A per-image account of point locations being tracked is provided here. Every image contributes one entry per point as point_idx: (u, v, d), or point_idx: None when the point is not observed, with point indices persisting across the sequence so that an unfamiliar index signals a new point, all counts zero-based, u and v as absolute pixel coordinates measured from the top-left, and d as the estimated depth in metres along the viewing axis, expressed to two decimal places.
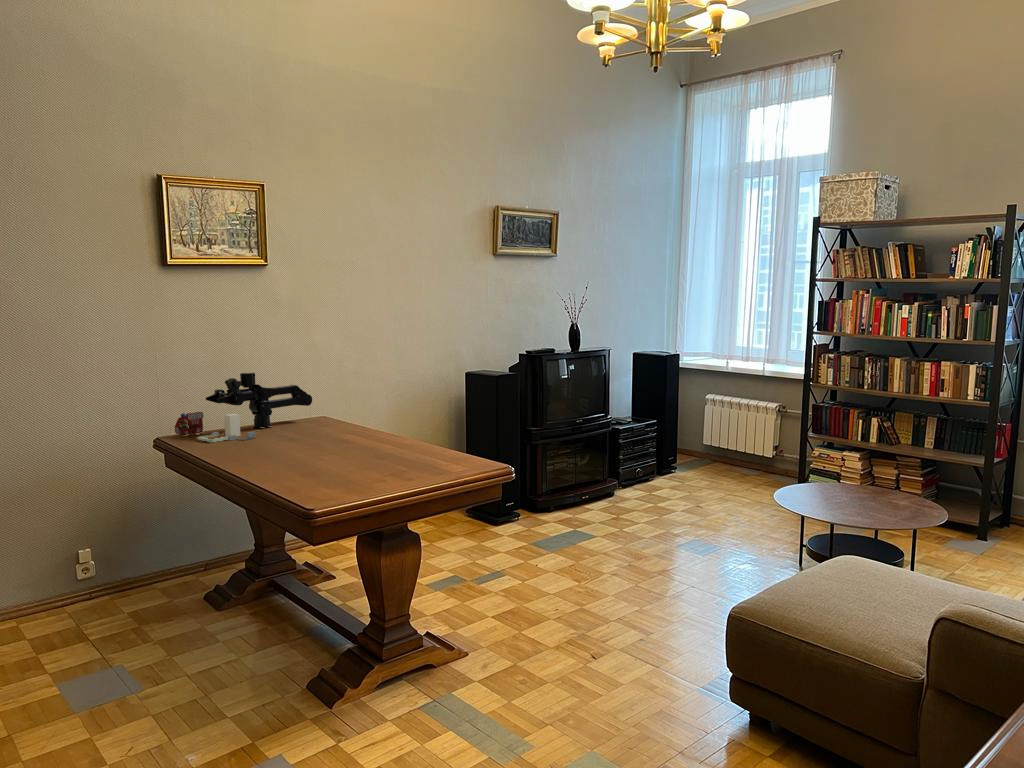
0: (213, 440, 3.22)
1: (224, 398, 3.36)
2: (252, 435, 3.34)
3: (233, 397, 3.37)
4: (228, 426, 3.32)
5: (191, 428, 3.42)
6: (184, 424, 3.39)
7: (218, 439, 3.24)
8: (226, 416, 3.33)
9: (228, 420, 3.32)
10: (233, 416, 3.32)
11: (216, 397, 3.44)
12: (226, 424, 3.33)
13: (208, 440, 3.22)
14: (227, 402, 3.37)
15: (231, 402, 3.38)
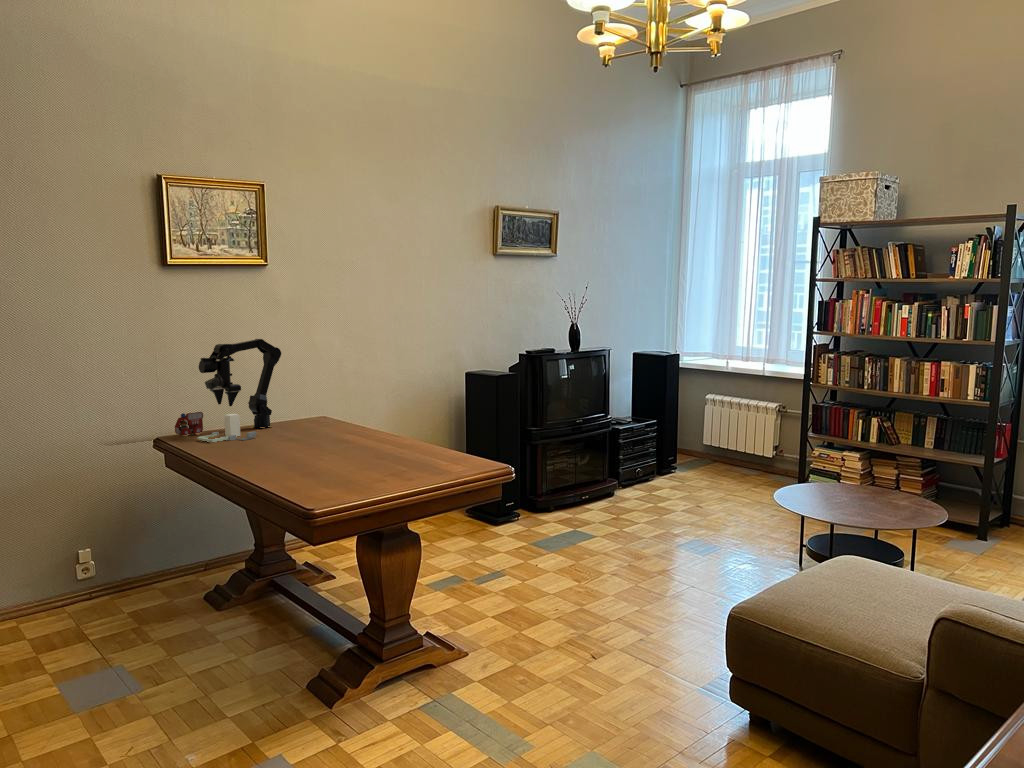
0: (213, 440, 3.22)
1: (230, 400, 3.40)
2: (252, 435, 3.34)
3: (232, 392, 3.38)
4: (228, 426, 3.32)
5: (191, 428, 3.42)
6: (184, 424, 3.39)
7: (218, 439, 3.24)
8: (226, 416, 3.33)
9: (228, 420, 3.32)
10: (233, 416, 3.32)
11: (219, 392, 3.47)
12: (226, 424, 3.33)
13: (208, 440, 3.22)
14: (234, 397, 3.41)
15: (235, 393, 3.41)
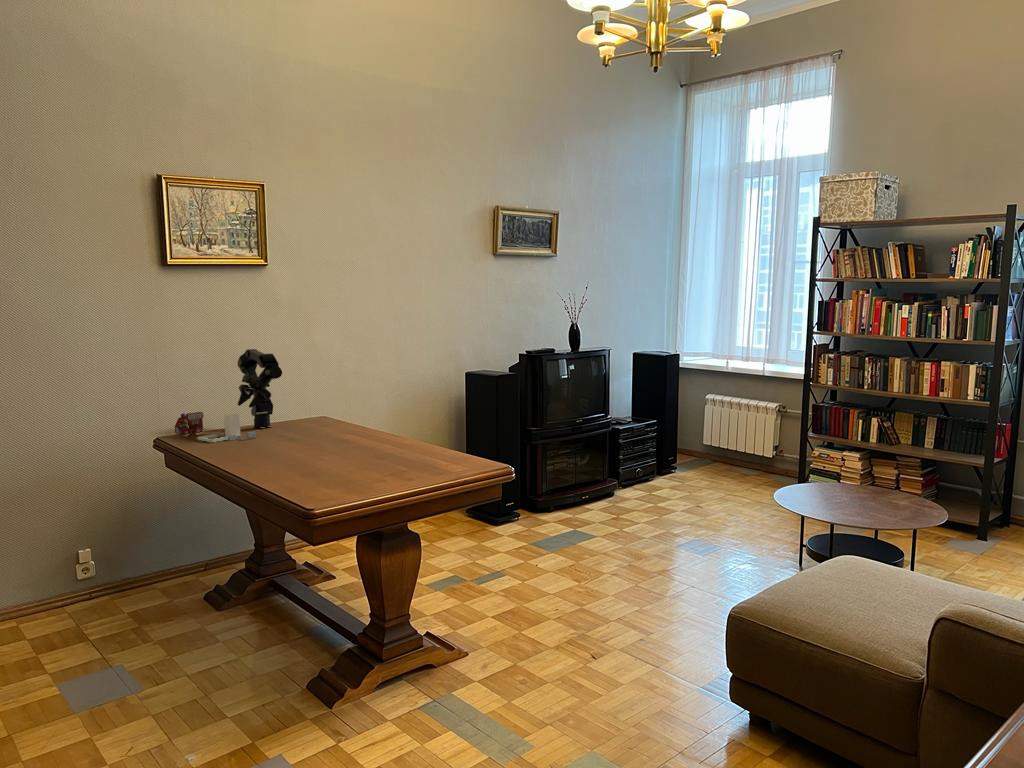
0: (213, 440, 3.22)
1: (254, 401, 3.37)
2: (252, 435, 3.34)
3: (260, 395, 3.37)
4: (228, 426, 3.32)
5: (191, 428, 3.42)
6: (184, 424, 3.39)
7: (218, 439, 3.24)
8: (226, 416, 3.33)
9: (228, 420, 3.32)
10: (233, 416, 3.32)
11: (245, 395, 3.45)
12: (226, 424, 3.33)
13: (208, 440, 3.22)
14: (258, 402, 3.38)
15: (261, 399, 3.39)
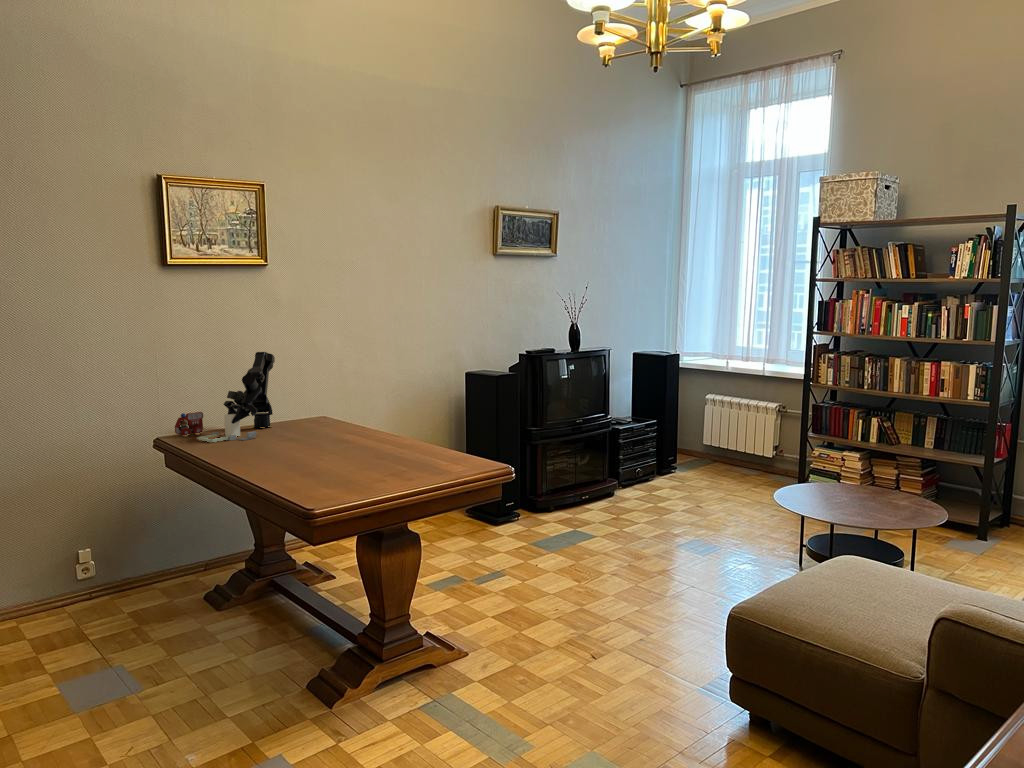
0: (213, 440, 3.22)
1: (237, 417, 3.32)
2: (252, 435, 3.34)
3: (243, 411, 3.33)
4: (228, 426, 3.32)
5: (191, 428, 3.42)
6: (184, 424, 3.39)
7: (218, 439, 3.24)
8: (226, 416, 3.33)
9: (228, 420, 3.32)
10: (233, 416, 3.32)
11: (233, 412, 3.38)
12: (226, 424, 3.33)
13: (208, 440, 3.22)
14: (241, 417, 3.34)
15: (244, 415, 3.35)
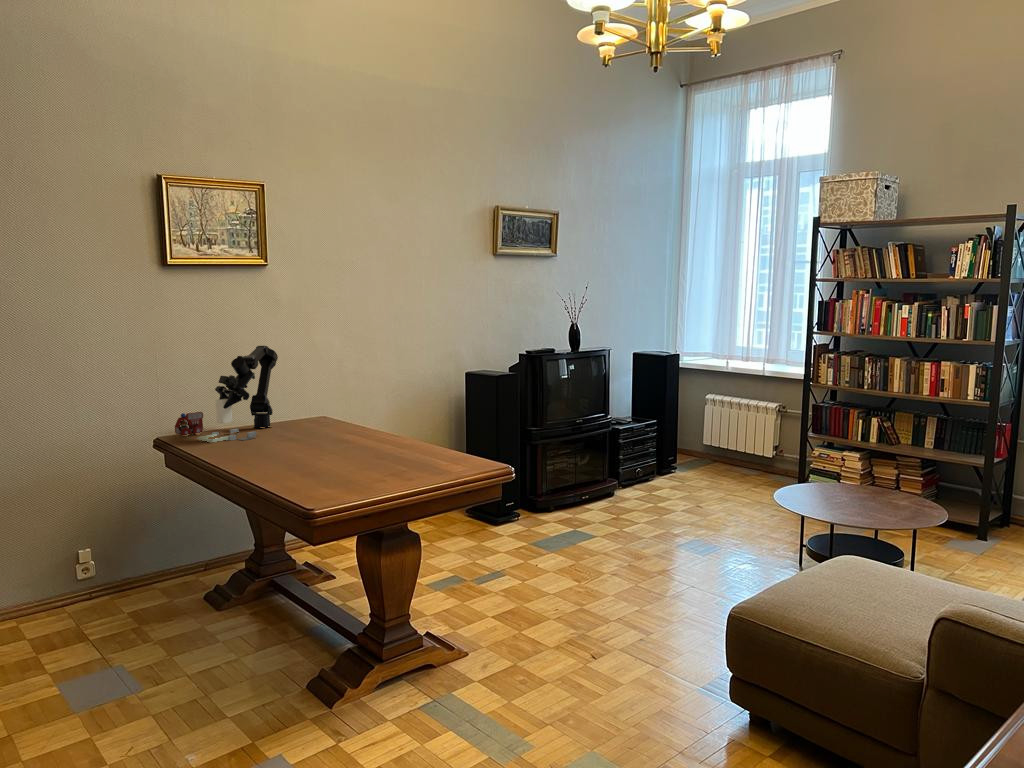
0: (213, 440, 3.22)
1: (228, 402, 3.28)
2: (252, 435, 3.34)
3: (235, 396, 3.29)
4: (220, 411, 3.28)
5: (191, 428, 3.42)
6: (184, 424, 3.39)
7: (218, 439, 3.24)
8: (218, 401, 3.29)
9: (220, 405, 3.28)
10: (225, 401, 3.28)
11: (225, 397, 3.34)
12: (218, 409, 3.29)
13: (208, 440, 3.22)
14: (233, 402, 3.30)
15: (237, 400, 3.31)
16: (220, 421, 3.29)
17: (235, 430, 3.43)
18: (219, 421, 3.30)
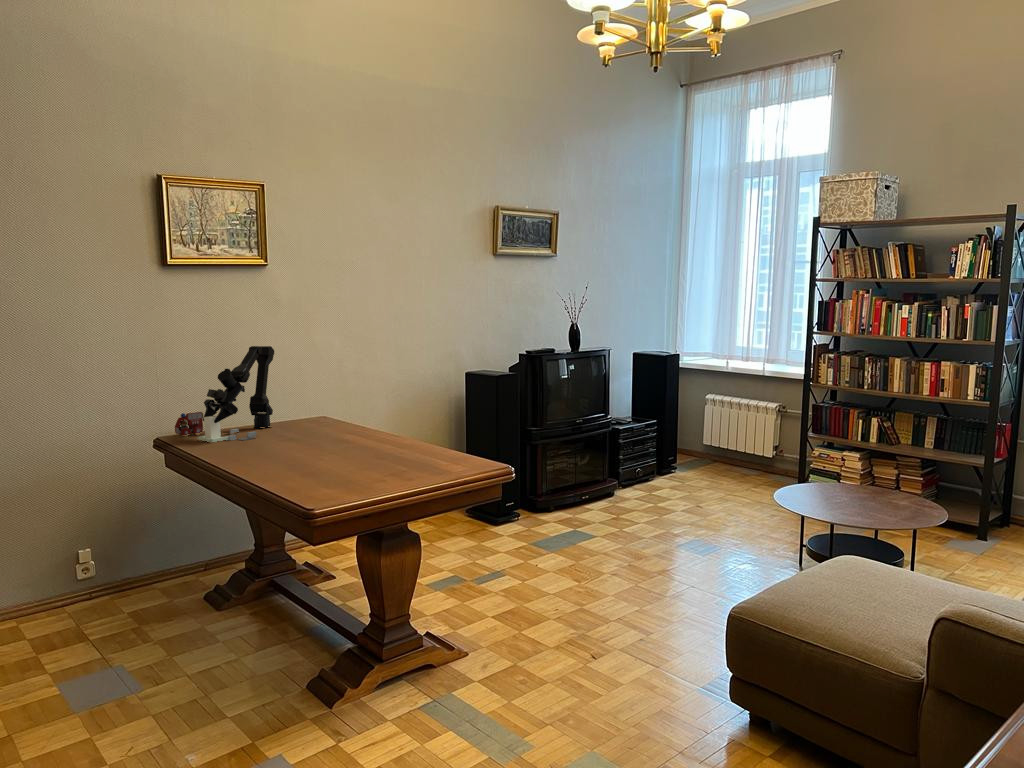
0: (213, 440, 3.22)
1: (219, 416, 3.23)
2: (252, 435, 3.34)
3: (226, 410, 3.24)
4: (208, 428, 3.25)
5: (191, 428, 3.42)
6: (184, 424, 3.39)
7: (218, 439, 3.24)
8: (206, 418, 3.25)
9: (208, 423, 3.24)
10: (213, 418, 3.25)
11: (211, 411, 3.32)
12: (206, 426, 3.26)
13: (208, 440, 3.22)
14: (224, 417, 3.25)
15: (227, 414, 3.26)
16: (208, 438, 3.26)
17: (235, 430, 3.43)
18: None
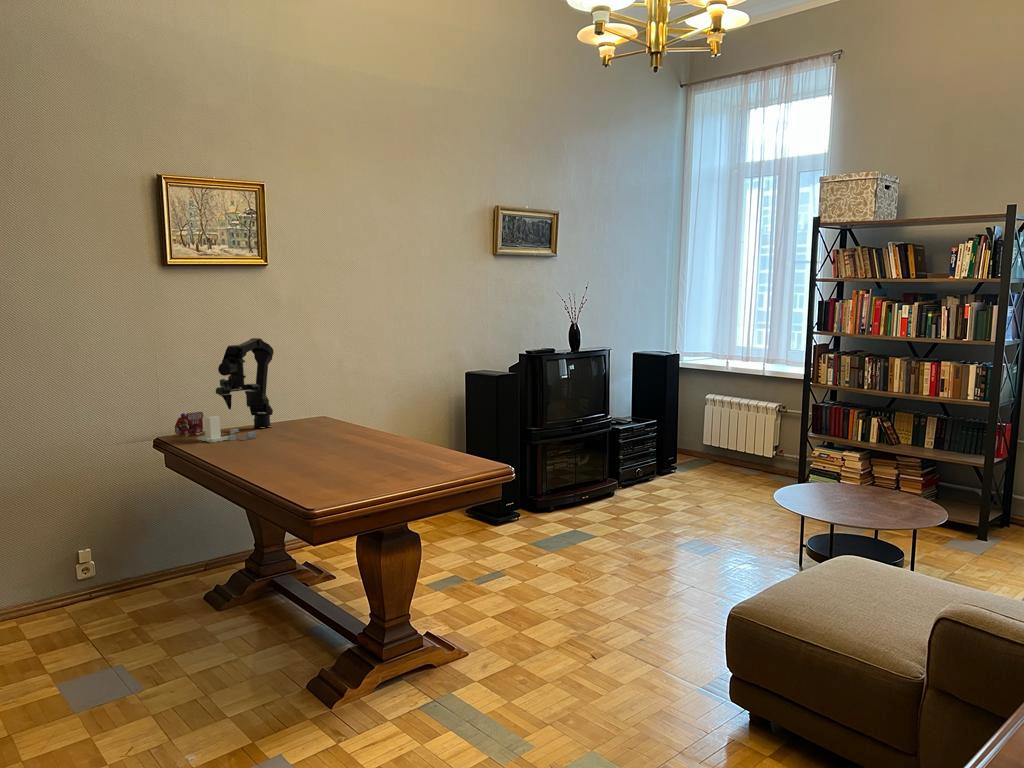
0: (213, 440, 3.22)
1: (226, 402, 3.33)
2: (252, 435, 3.34)
3: None
4: (208, 428, 3.25)
5: (191, 428, 3.42)
6: (184, 424, 3.39)
7: (218, 439, 3.24)
8: (206, 418, 3.25)
9: (208, 423, 3.24)
10: (213, 418, 3.25)
11: (248, 394, 3.41)
12: (206, 426, 3.26)
13: (208, 440, 3.22)
14: (228, 400, 3.31)
15: (227, 396, 3.31)
16: (208, 438, 3.26)
17: (235, 430, 3.43)
18: None
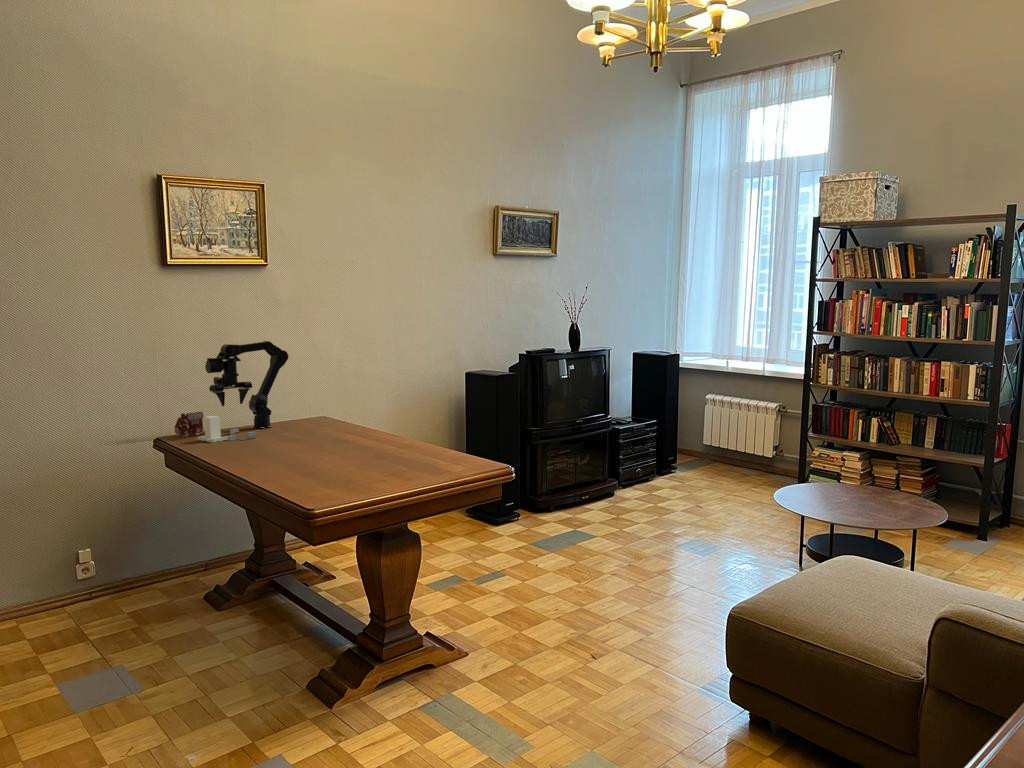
0: (213, 440, 3.22)
1: (220, 399, 3.43)
2: (252, 435, 3.34)
3: (216, 392, 3.41)
4: (208, 428, 3.25)
5: (191, 428, 3.42)
6: (184, 424, 3.39)
7: (218, 439, 3.24)
8: (206, 418, 3.25)
9: (208, 423, 3.24)
10: (213, 418, 3.25)
11: (241, 391, 3.50)
12: (206, 426, 3.26)
13: (208, 440, 3.22)
14: (221, 397, 3.41)
15: (220, 394, 3.41)
16: (208, 438, 3.26)
17: (235, 430, 3.43)
18: None
